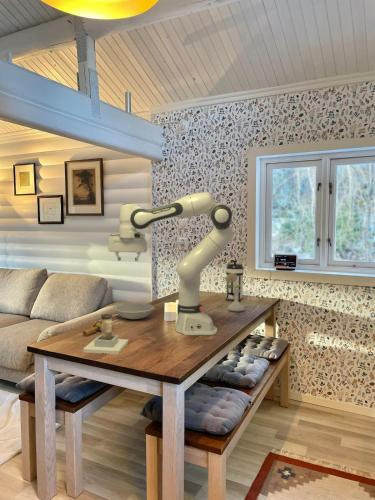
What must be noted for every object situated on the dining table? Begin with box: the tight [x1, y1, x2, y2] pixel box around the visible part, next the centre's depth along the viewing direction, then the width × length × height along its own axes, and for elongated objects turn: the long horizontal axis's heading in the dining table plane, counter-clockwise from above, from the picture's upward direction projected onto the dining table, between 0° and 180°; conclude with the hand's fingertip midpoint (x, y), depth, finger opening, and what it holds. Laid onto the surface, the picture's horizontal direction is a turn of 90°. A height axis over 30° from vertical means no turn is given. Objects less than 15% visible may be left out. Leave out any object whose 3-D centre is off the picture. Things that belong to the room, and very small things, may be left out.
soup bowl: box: [113, 302, 155, 320], centre depth 224 cm, size 24×24×7 cm
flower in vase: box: [225, 273, 246, 313], centre depth 245 cm, size 13×11×25 cm
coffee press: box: [225, 259, 245, 303], centre depth 277 cm, size 17×16×30 cm
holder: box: [82, 334, 129, 355], centre depth 171 cm, size 16×16×4 cm
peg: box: [100, 313, 113, 340], centre depth 171 cm, size 5×5×13 cm
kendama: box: [82, 320, 102, 337], centre depth 195 cm, size 8×6×18 cm
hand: (127, 260), depth 196 cm, fingers open, 8 cm apart
